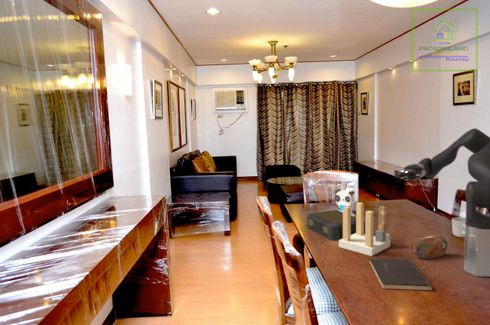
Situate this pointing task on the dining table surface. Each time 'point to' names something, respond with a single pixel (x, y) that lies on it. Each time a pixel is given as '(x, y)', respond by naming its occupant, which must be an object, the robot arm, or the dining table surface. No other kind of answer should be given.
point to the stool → (362, 233)
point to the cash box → (330, 224)
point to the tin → (430, 247)
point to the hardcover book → (399, 274)
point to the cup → (458, 226)
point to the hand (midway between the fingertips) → (398, 175)
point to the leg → (382, 220)
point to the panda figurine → (344, 199)
